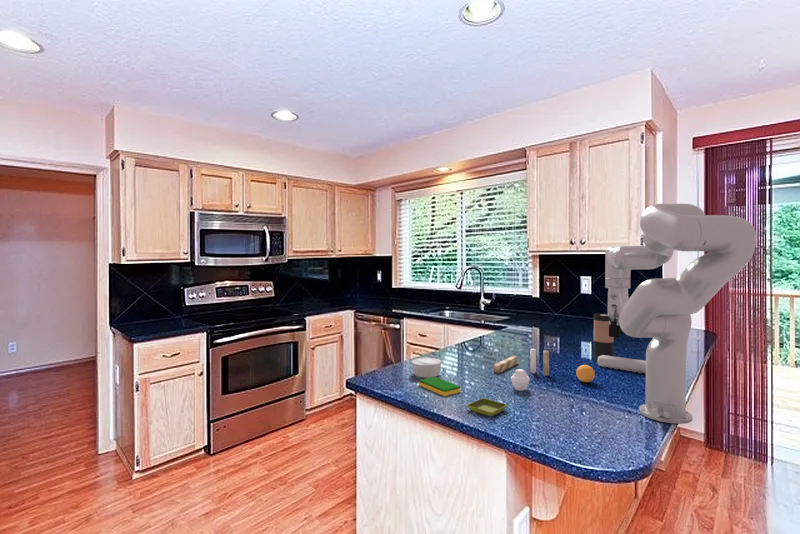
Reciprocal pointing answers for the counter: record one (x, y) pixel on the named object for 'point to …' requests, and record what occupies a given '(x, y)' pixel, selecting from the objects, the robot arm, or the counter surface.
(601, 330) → the travel mug
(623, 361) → the tube
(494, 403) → the olive square dish
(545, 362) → the birch pin
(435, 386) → the dish sponge
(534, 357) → the white pin
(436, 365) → the ramekin
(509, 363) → the rail
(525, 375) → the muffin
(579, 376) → the ball
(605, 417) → the counter surface
